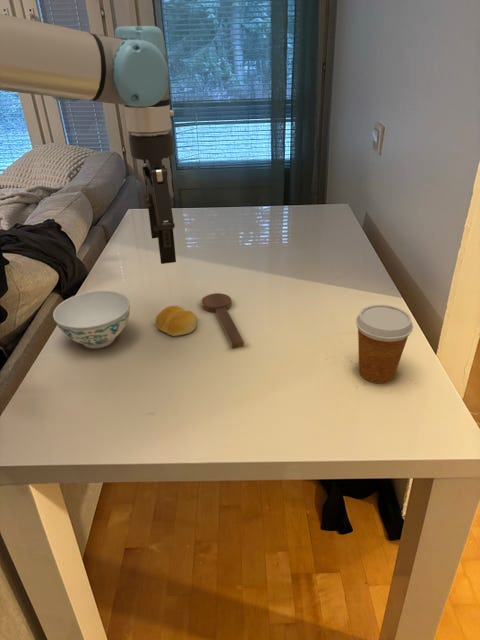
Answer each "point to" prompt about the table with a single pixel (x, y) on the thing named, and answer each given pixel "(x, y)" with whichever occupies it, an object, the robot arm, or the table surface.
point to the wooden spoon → (223, 316)
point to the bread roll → (176, 321)
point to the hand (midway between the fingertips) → (163, 249)
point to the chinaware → (93, 317)
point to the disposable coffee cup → (381, 341)
